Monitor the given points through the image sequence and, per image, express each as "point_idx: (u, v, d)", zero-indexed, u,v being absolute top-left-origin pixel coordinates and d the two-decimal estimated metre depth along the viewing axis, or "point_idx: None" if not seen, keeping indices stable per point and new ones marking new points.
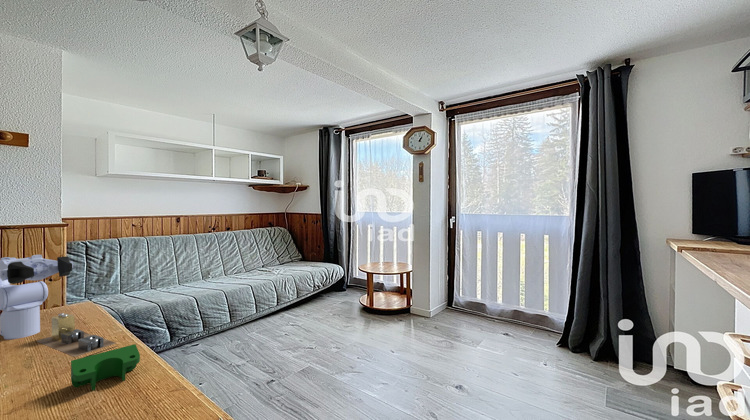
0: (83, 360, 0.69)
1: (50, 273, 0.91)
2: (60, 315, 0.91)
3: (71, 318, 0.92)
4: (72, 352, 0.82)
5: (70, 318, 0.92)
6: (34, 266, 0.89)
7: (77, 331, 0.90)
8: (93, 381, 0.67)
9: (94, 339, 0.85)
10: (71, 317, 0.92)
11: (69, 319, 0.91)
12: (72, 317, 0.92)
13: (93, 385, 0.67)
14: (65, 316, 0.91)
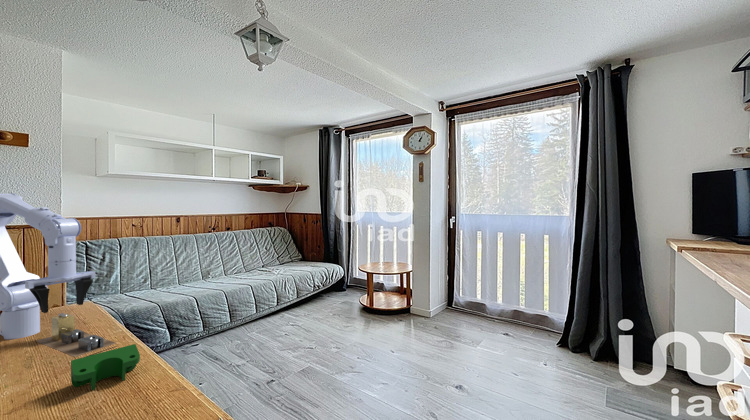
0: (83, 360, 0.69)
1: None
2: (60, 315, 0.91)
3: (71, 318, 0.92)
4: (72, 352, 0.82)
5: (70, 318, 0.92)
6: None
7: (77, 331, 0.90)
8: (93, 381, 0.67)
9: (94, 339, 0.85)
10: (71, 317, 0.92)
11: (69, 319, 0.91)
12: (72, 317, 0.92)
13: (93, 385, 0.67)
14: (65, 316, 0.91)
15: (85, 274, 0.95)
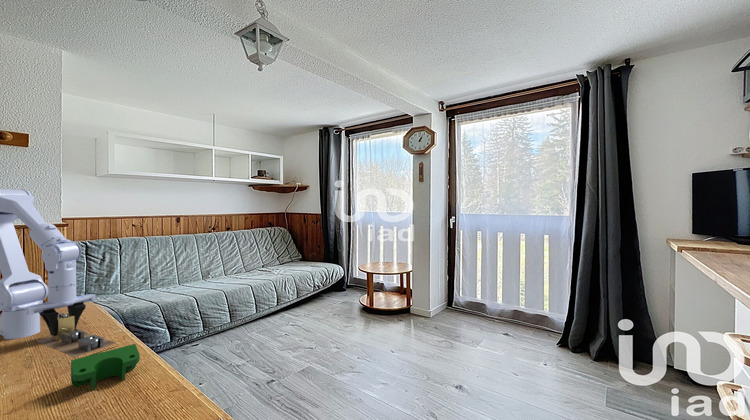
0: (83, 360, 0.69)
1: None
2: (60, 315, 0.91)
3: (71, 318, 0.92)
4: (72, 352, 0.82)
5: (70, 318, 0.92)
6: None
7: (77, 331, 0.90)
8: (93, 381, 0.67)
9: (94, 339, 0.85)
10: (71, 317, 0.92)
11: (69, 319, 0.91)
12: (72, 317, 0.92)
13: (93, 385, 0.67)
14: (65, 316, 0.91)
15: (85, 298, 0.95)
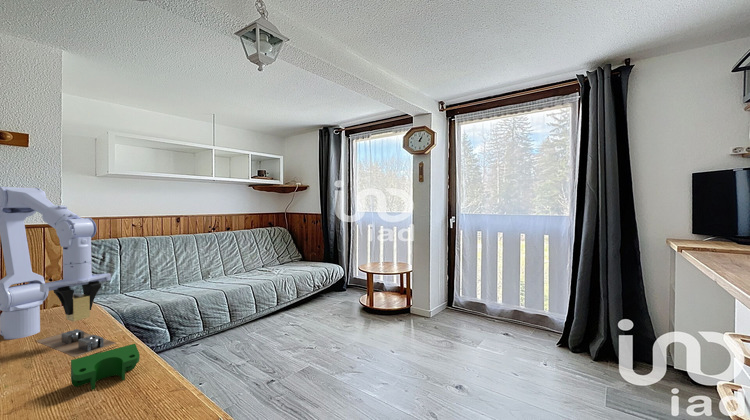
0: (83, 359, 0.69)
1: None
2: (75, 295, 0.88)
3: (86, 298, 0.88)
4: (72, 352, 0.82)
5: (85, 298, 0.88)
6: None
7: (77, 331, 0.90)
8: (93, 380, 0.67)
9: (94, 339, 0.85)
10: (86, 297, 0.88)
11: (84, 299, 0.88)
12: (87, 297, 0.88)
13: (93, 384, 0.67)
14: (80, 296, 0.87)
15: (101, 276, 0.91)
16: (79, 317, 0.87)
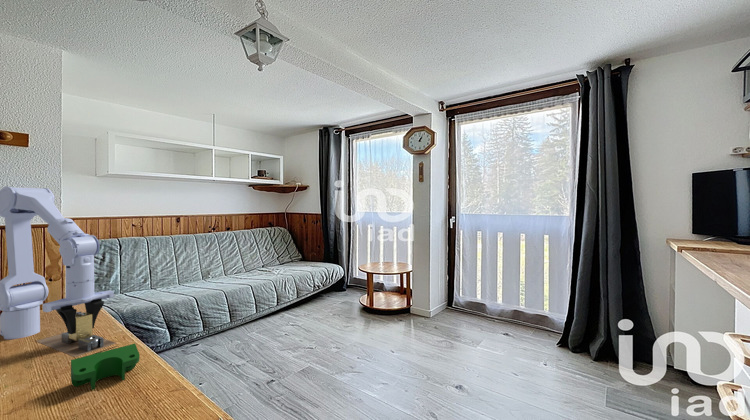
0: (83, 359, 0.69)
1: None
2: (77, 313, 0.87)
3: (88, 316, 0.87)
4: (72, 352, 0.82)
5: (88, 317, 0.87)
6: None
7: None
8: (93, 380, 0.67)
9: (94, 339, 0.85)
10: (89, 316, 0.87)
11: (87, 318, 0.87)
12: (90, 316, 0.88)
13: (93, 384, 0.67)
14: (83, 314, 0.87)
15: (103, 294, 0.91)
16: (82, 336, 0.86)
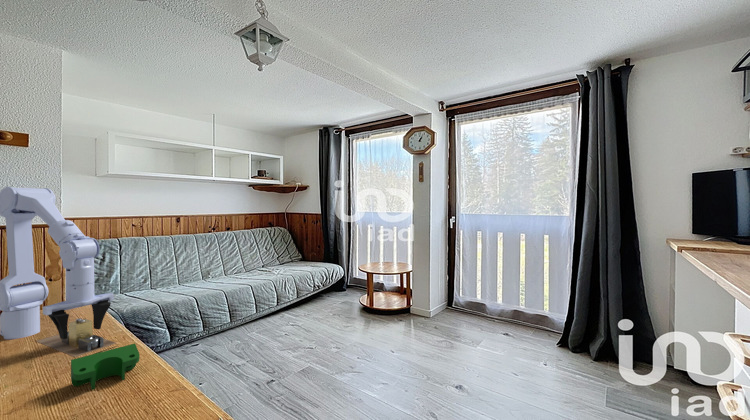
0: (83, 359, 0.69)
1: None
2: (77, 320, 0.87)
3: (88, 323, 0.87)
4: (72, 352, 0.82)
5: (88, 323, 0.87)
6: None
7: None
8: (93, 380, 0.67)
9: (94, 339, 0.85)
10: (89, 322, 0.88)
11: (87, 324, 0.87)
12: (90, 322, 0.88)
13: (93, 384, 0.67)
14: (83, 321, 0.87)
15: (103, 297, 0.91)
16: None
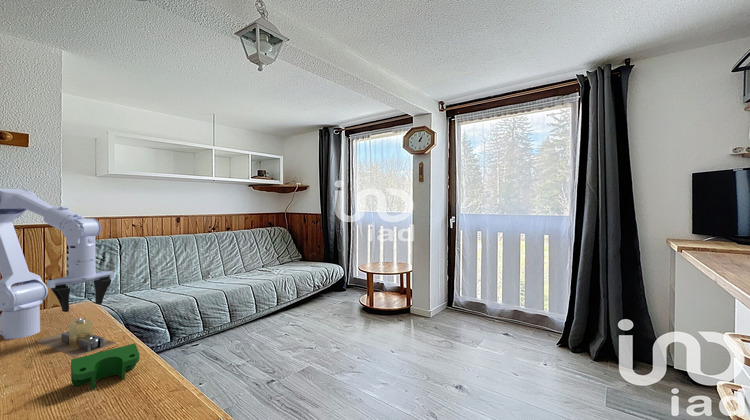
0: (83, 359, 0.69)
1: None
2: (77, 320, 0.87)
3: (88, 323, 0.87)
4: (72, 352, 0.82)
5: (88, 323, 0.87)
6: None
7: None
8: (93, 380, 0.67)
9: (94, 339, 0.85)
10: (89, 322, 0.88)
11: (87, 324, 0.87)
12: (90, 322, 0.88)
13: (93, 384, 0.67)
14: (83, 321, 0.87)
15: (104, 274, 0.96)
16: None
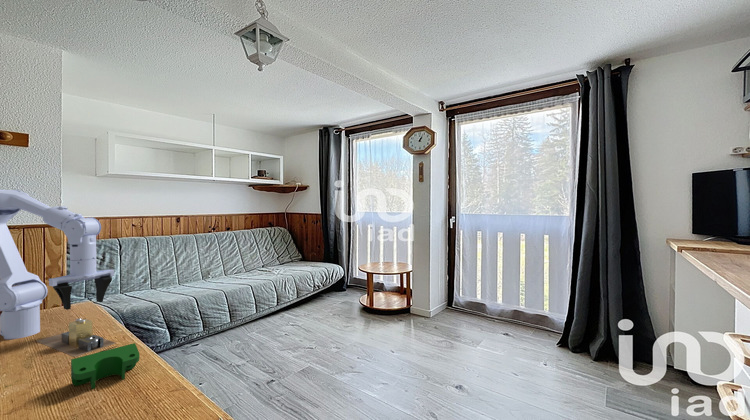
0: (83, 359, 0.69)
1: None
2: (77, 320, 0.87)
3: (88, 323, 0.87)
4: (72, 352, 0.82)
5: (88, 323, 0.87)
6: None
7: None
8: (93, 380, 0.67)
9: (94, 339, 0.85)
10: (89, 322, 0.88)
11: (87, 324, 0.87)
12: (90, 322, 0.88)
13: (93, 384, 0.68)
14: (83, 321, 0.87)
15: (105, 272, 0.98)
16: None
